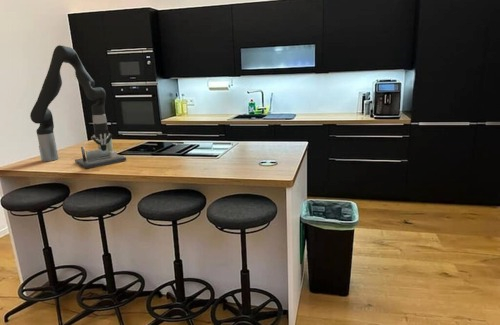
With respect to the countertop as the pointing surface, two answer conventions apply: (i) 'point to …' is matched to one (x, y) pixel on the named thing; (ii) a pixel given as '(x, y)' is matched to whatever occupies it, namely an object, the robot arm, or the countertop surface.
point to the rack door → (96, 153)
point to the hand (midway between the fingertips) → (103, 150)
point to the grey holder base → (98, 160)
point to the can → (107, 145)
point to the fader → (113, 154)
